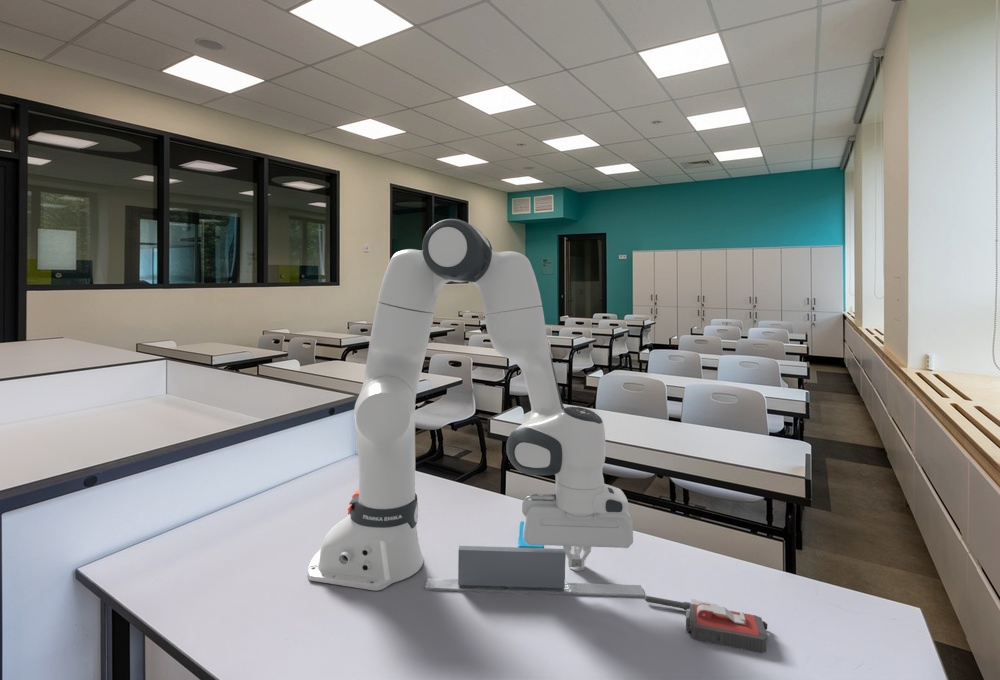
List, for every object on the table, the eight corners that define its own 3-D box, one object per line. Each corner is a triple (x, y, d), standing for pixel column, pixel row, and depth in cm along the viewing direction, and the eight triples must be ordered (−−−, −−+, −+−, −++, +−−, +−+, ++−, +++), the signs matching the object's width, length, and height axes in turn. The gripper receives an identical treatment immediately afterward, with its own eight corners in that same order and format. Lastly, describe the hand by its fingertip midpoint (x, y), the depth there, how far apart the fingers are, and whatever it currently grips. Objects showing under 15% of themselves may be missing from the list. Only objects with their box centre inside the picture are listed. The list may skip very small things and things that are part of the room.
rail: (424, 590, 98) (424, 587, 98) (427, 580, 101) (427, 578, 101) (644, 597, 97) (644, 594, 97) (640, 587, 100) (640, 585, 100)
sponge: (544, 522, 125) (520, 518, 126) (544, 548, 113) (518, 543, 114) (543, 528, 126) (519, 524, 126) (543, 554, 114) (516, 550, 114)
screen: (458, 584, 99) (458, 549, 98) (459, 580, 100) (459, 545, 99) (564, 588, 98) (565, 553, 97) (563, 583, 100) (564, 548, 99)
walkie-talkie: (763, 623, 91) (644, 601, 97) (765, 600, 91) (646, 579, 96) (774, 658, 83) (643, 632, 88) (777, 633, 82) (645, 608, 88)
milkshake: (591, 575, 104) (593, 527, 103) (564, 571, 105) (566, 524, 104) (592, 562, 109) (594, 517, 107) (566, 559, 110) (568, 514, 109)
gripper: (523, 500, 94) (520, 573, 96) (637, 504, 93) (633, 577, 95) (522, 486, 100) (520, 554, 102) (629, 490, 100) (625, 558, 101)
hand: (575, 565), depth 98 cm, fingers closed
